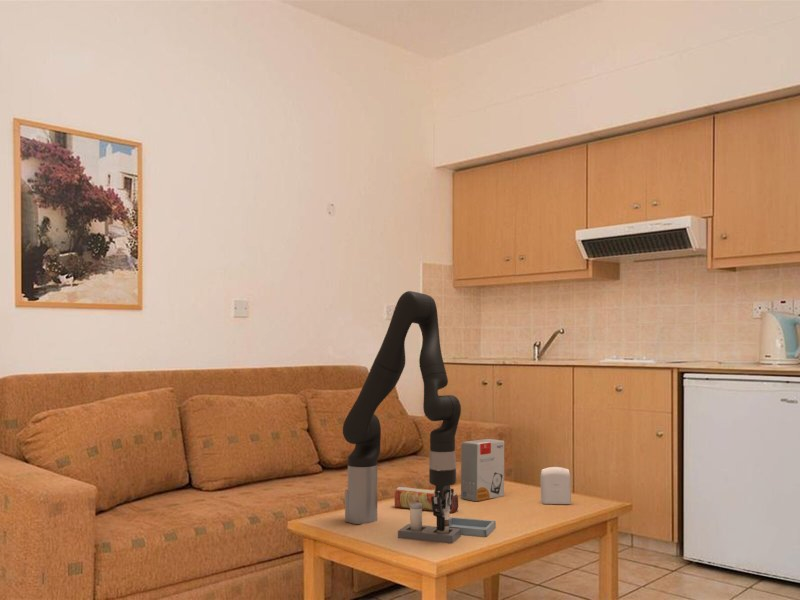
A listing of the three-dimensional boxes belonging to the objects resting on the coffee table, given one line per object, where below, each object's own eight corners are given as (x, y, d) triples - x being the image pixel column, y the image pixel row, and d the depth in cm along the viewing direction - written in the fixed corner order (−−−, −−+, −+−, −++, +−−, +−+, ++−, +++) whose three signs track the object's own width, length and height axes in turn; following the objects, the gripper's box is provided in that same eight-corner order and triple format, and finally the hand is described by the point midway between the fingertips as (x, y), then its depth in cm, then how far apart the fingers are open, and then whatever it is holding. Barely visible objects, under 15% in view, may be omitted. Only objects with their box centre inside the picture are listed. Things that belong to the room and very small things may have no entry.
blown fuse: (434, 539, 207) (434, 506, 207) (438, 536, 210) (438, 503, 210) (447, 540, 205) (447, 507, 206) (451, 537, 209) (450, 504, 209)
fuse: (408, 536, 209) (407, 504, 210) (412, 533, 213) (412, 501, 213) (420, 537, 208) (419, 505, 209) (424, 534, 211) (424, 502, 212)
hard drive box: (476, 502, 256) (475, 444, 257) (460, 498, 261) (459, 441, 263) (505, 496, 266) (504, 440, 267) (488, 492, 272) (488, 438, 273)
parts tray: (438, 534, 214) (438, 525, 214) (450, 525, 224) (450, 517, 224) (486, 538, 209) (486, 529, 209) (495, 529, 219) (495, 520, 219)
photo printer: (541, 504, 252) (540, 467, 253) (540, 501, 256) (539, 465, 257) (572, 505, 251) (571, 468, 252) (570, 502, 255) (570, 466, 256)
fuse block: (397, 539, 208) (397, 530, 208) (407, 532, 216) (407, 524, 216) (452, 545, 202) (452, 535, 202) (460, 537, 210) (460, 528, 210)
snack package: (459, 510, 245) (459, 489, 245) (452, 514, 239) (452, 493, 239) (400, 504, 253) (400, 484, 254) (392, 508, 247) (392, 488, 248)
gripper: (437, 462, 217) (438, 521, 216) (421, 470, 203) (421, 533, 202) (462, 463, 214) (462, 524, 213) (447, 471, 201) (448, 536, 200)
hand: (442, 528), depth 208 cm, fingers closed on blown fuse, 3 cm apart
